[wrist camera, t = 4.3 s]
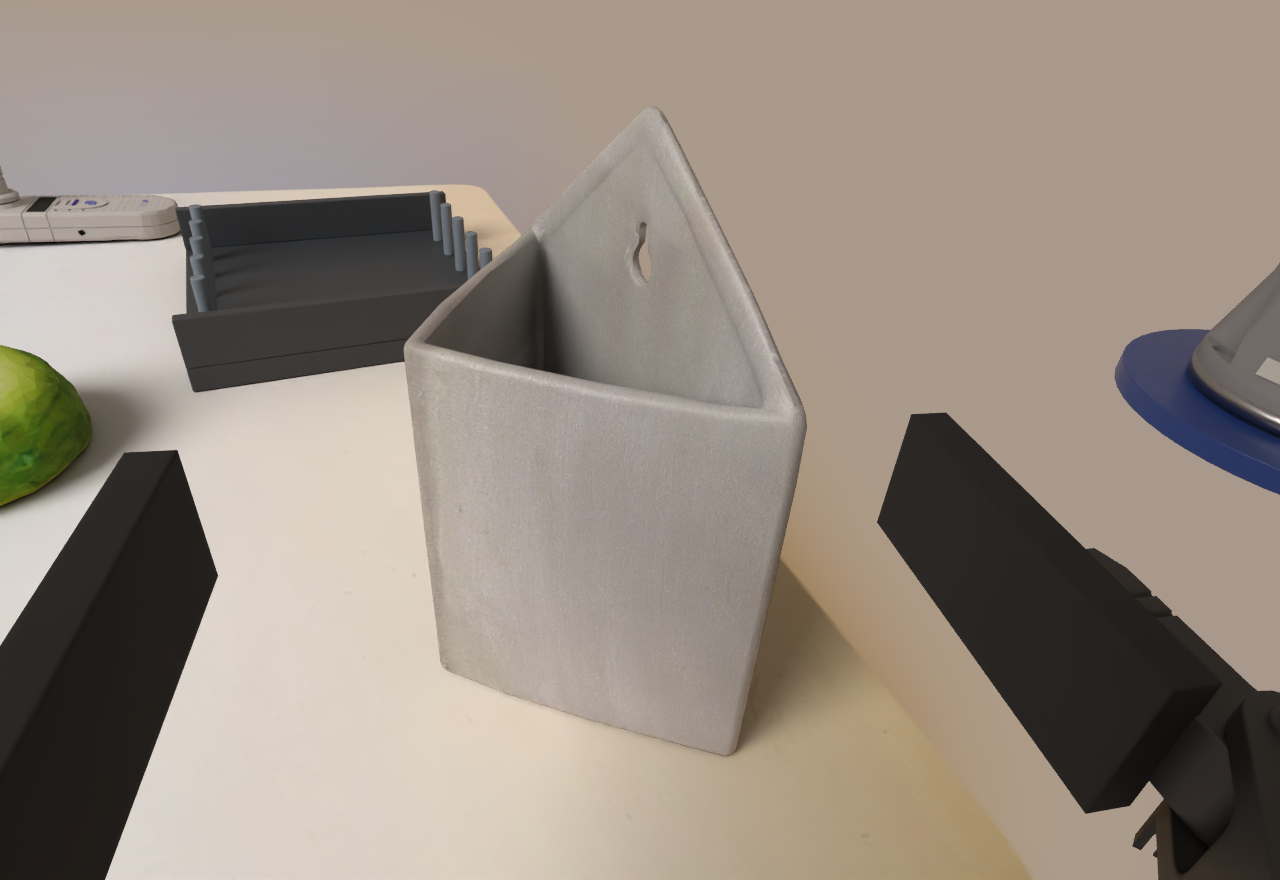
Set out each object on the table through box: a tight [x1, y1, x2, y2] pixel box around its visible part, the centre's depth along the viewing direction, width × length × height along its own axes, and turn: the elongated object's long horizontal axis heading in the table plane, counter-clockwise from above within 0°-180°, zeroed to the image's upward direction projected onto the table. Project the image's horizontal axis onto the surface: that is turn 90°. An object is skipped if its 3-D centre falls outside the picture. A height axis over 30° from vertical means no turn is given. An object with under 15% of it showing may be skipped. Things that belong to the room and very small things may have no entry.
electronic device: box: [0, 167, 180, 244], centre depth 59 cm, size 5×10×15 cm
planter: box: [404, 107, 807, 756], centre depth 24 cm, size 16×8×19 cm, turn 31°
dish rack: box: [172, 191, 492, 392], centre depth 53 cm, size 20×21×6 cm
